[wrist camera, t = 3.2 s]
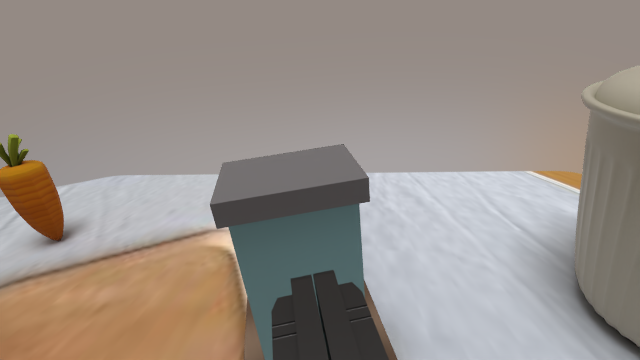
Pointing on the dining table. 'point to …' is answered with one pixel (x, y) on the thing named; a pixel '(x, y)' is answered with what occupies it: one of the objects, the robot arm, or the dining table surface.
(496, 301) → the dining table surface
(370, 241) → the dining table surface
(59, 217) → the carrot
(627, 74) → the canister
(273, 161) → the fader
